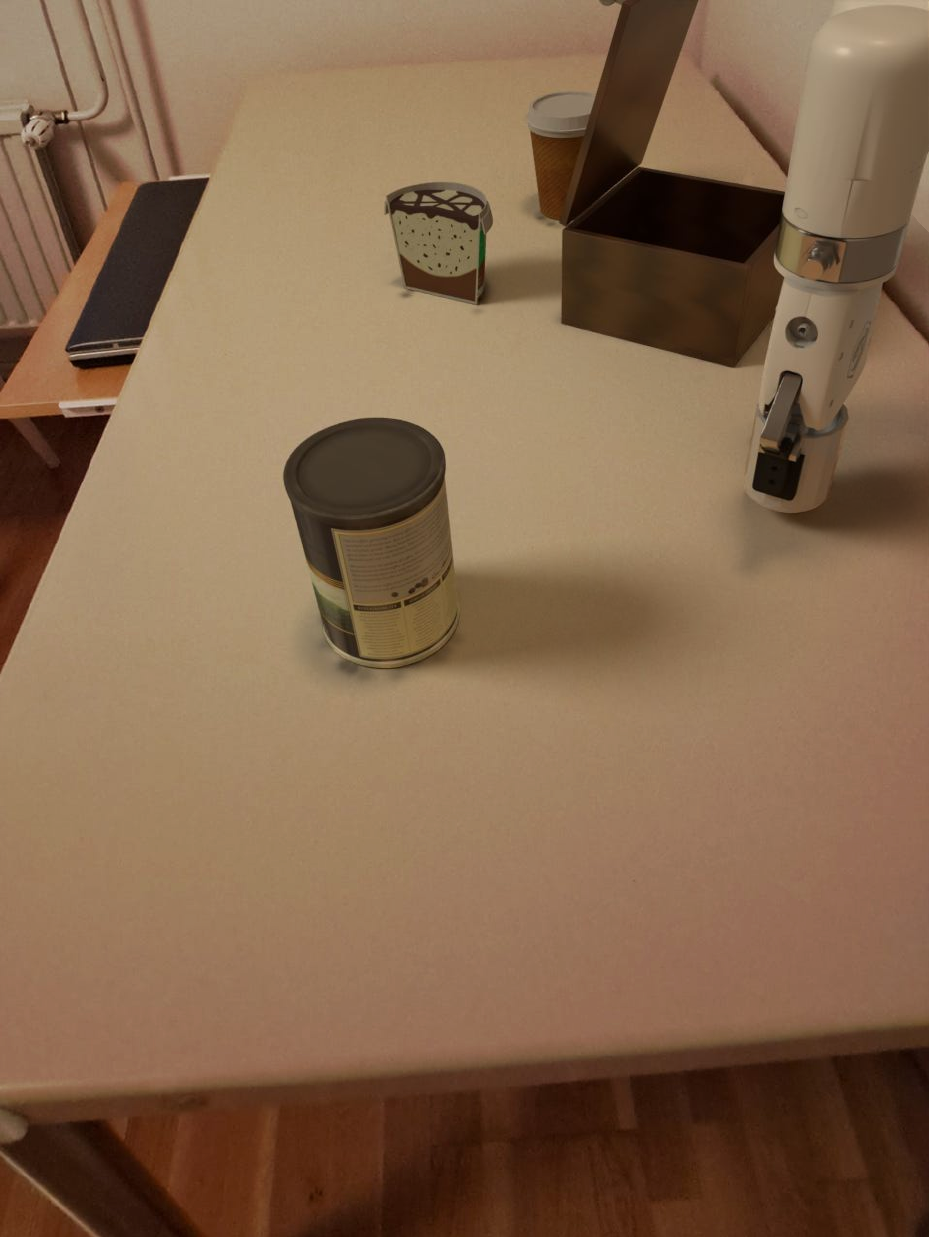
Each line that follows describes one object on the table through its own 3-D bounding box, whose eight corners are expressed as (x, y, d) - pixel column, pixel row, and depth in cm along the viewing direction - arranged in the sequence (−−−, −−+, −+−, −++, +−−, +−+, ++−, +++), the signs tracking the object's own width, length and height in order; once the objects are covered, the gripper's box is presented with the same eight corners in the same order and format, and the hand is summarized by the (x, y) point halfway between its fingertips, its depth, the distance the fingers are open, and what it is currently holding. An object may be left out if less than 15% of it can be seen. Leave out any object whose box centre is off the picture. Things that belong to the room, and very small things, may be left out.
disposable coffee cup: (517, 223, 114) (515, 116, 105) (539, 190, 120) (538, 87, 111) (594, 229, 111) (598, 121, 102) (612, 196, 117) (617, 91, 108)
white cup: (840, 474, 74) (860, 399, 69) (812, 522, 71) (831, 447, 65) (761, 452, 77) (775, 378, 72) (731, 497, 73) (743, 423, 68)
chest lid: (714, -46, 83) (662, -71, 84) (631, 5, 73) (573, -23, 74) (641, 163, 98) (598, 140, 99) (565, 226, 89) (518, 201, 90)
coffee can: (297, 650, 68) (252, 498, 57) (359, 557, 74) (328, 405, 64) (428, 685, 65) (405, 531, 54) (481, 585, 71) (469, 430, 61)
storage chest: (794, 290, 98) (813, 195, 91) (733, 367, 89) (749, 269, 82) (632, 255, 106) (638, 166, 99) (561, 323, 97) (561, 229, 90)
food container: (516, 282, 103) (514, 189, 96) (489, 307, 100) (484, 213, 93) (422, 261, 108) (413, 172, 101) (393, 285, 105) (381, 194, 97)
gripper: (855, 318, 53) (799, 550, 66) (938, 195, 62) (874, 419, 75) (728, 291, 56) (698, 518, 69) (825, 177, 65) (782, 396, 78)
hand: (790, 465), depth 72 cm, fingers closed on white cup, 6 cm apart
